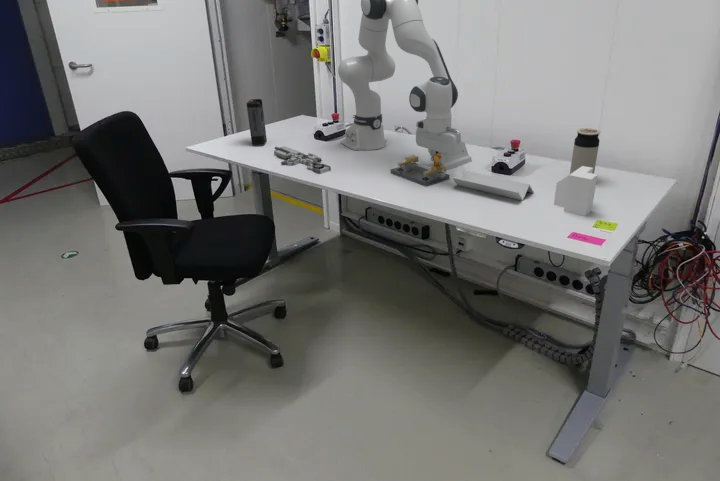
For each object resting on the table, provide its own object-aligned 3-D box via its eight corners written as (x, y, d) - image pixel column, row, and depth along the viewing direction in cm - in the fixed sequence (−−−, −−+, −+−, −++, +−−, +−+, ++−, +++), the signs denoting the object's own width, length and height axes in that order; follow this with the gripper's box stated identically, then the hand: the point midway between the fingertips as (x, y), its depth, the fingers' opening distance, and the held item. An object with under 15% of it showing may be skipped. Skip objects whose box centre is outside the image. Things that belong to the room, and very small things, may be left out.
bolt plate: (390, 173, 203) (390, 160, 201) (413, 166, 209) (413, 153, 207) (426, 186, 189) (426, 172, 186) (449, 178, 195) (450, 165, 193)
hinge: (445, 171, 203) (439, 145, 201) (436, 172, 207) (430, 147, 205) (472, 161, 212) (467, 136, 210) (463, 162, 216) (458, 138, 214)
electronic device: (264, 146, 244) (258, 102, 235) (251, 146, 244) (245, 103, 235) (267, 140, 252) (262, 98, 243) (255, 141, 252) (249, 99, 243)
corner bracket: (584, 216, 161) (591, 179, 155) (549, 207, 168) (554, 172, 162) (597, 205, 168) (604, 169, 162) (563, 197, 175) (568, 163, 169)
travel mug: (594, 184, 184) (603, 133, 176) (571, 183, 186) (578, 133, 177) (590, 176, 191) (598, 127, 183) (567, 176, 193) (574, 127, 184)
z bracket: (463, 193, 194) (470, 178, 194) (526, 208, 178) (533, 192, 179) (451, 177, 184) (458, 162, 185) (517, 192, 169) (525, 175, 170)
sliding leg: (421, 177, 192) (422, 157, 189) (438, 172, 196) (439, 152, 193) (427, 179, 190) (428, 159, 186) (444, 174, 194) (444, 154, 191)
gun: (255, 150, 230) (283, 142, 239) (256, 156, 232) (284, 148, 240) (310, 172, 202) (340, 161, 210) (311, 179, 203) (341, 168, 212)
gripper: (466, 128, 180) (464, 166, 186) (425, 118, 195) (425, 154, 201) (453, 131, 177) (452, 170, 183) (413, 121, 192) (412, 158, 198)
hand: (437, 162), depth 192 cm, fingers closed on sliding leg, 3 cm apart
